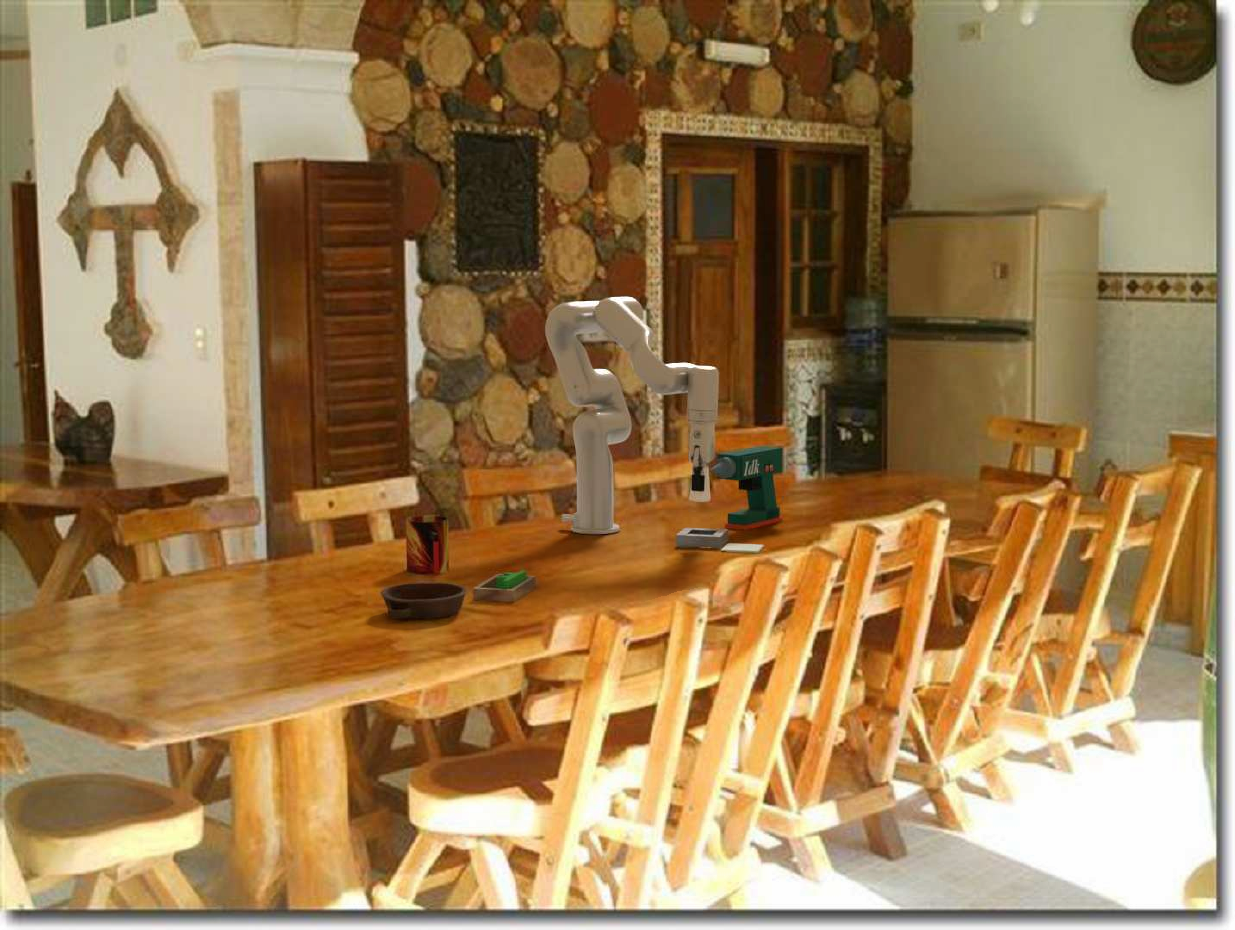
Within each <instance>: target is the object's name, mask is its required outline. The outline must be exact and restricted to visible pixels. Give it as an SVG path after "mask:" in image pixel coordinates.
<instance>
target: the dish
mask: <svg viewBox="0 0 1235 930" xmlns="http://www.w3.org/2000/svg"><path fill="white" fill-rule="evenodd" d="M468 591H469V590H468V588H467V586H463V585H460V584H456V583H452V582H438V581H437V582H436V581H435V582H434V581H433V582H408V583H399V584H394V585H391V586H387V587H385V588H383V589H382V590H381V591H380V596H381V597H382V598H383V600H384V603H385V605H386V608H387V616H388V617H389V618H390V619H398V620H400V619H407V618H408V620H432V619H431V618H436V619H441V618H440V617H443V618H445V617H444V616H446V617H448V616H449V615H450V616H452V615H455V614H456V613H458V612H460V610H461V609H462V606H463V603H464V600H465V597H466V595H467V593H468ZM450 616H449V617H450Z"/></svg>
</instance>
